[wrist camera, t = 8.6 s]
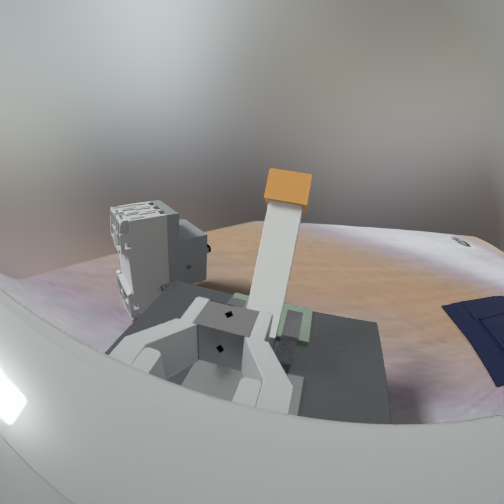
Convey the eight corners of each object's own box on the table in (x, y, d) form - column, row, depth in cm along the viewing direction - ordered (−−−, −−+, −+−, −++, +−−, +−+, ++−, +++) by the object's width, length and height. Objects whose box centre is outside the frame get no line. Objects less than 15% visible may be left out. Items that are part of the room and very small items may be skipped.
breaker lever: (232, 349, 19) (270, 168, 20) (240, 341, 22) (273, 180, 23) (274, 360, 18) (312, 174, 19) (277, 350, 21) (310, 186, 22)
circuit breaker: (214, 296, 44) (218, 207, 38) (132, 321, 36) (118, 222, 29) (193, 276, 49) (195, 195, 43) (120, 295, 41) (109, 207, 35)
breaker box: (124, 425, 21) (81, 330, 15) (179, 344, 33) (173, 250, 28) (341, 484, 17) (419, 416, 11) (347, 383, 29) (388, 293, 23)
